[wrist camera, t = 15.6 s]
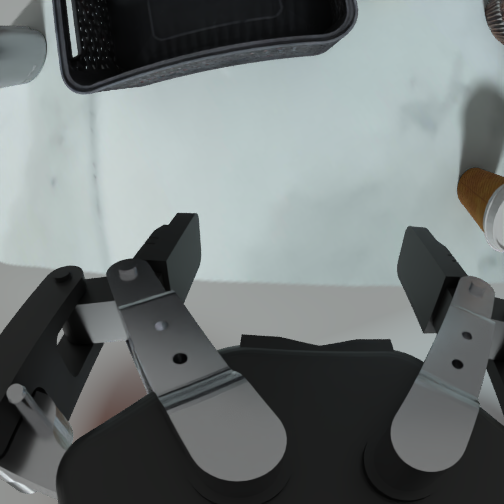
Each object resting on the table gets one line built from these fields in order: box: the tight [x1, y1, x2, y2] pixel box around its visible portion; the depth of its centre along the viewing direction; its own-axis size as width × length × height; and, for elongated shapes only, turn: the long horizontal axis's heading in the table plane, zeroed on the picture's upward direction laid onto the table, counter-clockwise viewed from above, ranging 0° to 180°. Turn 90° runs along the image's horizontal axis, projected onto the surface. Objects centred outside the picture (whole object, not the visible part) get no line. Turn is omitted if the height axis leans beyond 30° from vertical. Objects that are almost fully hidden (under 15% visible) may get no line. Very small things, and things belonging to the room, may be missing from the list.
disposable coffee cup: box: [457, 168, 504, 253], centre depth 33 cm, size 10×10×12 cm
